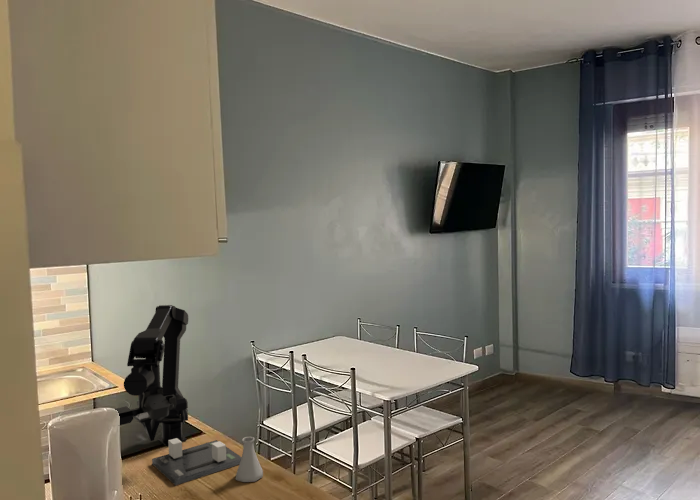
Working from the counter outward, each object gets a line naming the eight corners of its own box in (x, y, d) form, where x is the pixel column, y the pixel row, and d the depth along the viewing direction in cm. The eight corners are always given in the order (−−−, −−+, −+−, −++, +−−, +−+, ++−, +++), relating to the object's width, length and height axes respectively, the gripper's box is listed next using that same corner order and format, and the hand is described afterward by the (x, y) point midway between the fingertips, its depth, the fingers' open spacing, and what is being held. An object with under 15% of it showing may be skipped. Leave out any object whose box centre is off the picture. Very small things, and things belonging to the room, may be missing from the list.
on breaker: (212, 457, 155) (211, 443, 154) (220, 455, 156) (219, 441, 156) (218, 462, 152) (217, 447, 152) (226, 459, 153) (225, 445, 153)
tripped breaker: (168, 454, 157) (168, 440, 157) (177, 451, 159) (176, 437, 159) (174, 458, 155) (173, 444, 154) (182, 456, 156) (181, 441, 156)
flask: (257, 484, 143) (256, 445, 143) (230, 482, 145) (229, 443, 144) (267, 471, 150) (266, 434, 150) (241, 469, 152) (240, 432, 151)
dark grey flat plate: (152, 464, 156) (152, 458, 156) (216, 445, 168) (216, 439, 168) (175, 485, 143) (175, 479, 143) (243, 463, 155) (242, 457, 155)
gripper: (122, 398, 139) (125, 460, 140) (195, 382, 151) (197, 440, 152) (108, 388, 148) (111, 446, 149) (178, 373, 160) (180, 428, 161)
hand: (151, 440), depth 152 cm, fingers closed
